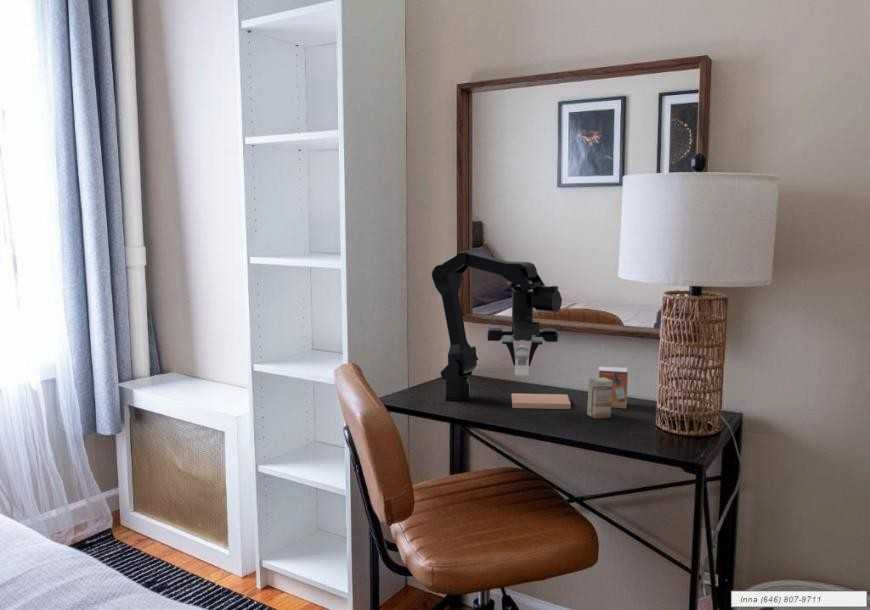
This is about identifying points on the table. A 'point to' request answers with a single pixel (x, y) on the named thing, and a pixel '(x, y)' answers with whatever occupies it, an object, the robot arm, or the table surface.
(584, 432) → the table surface
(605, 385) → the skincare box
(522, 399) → the terracotta tile
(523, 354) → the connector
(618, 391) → the small box
